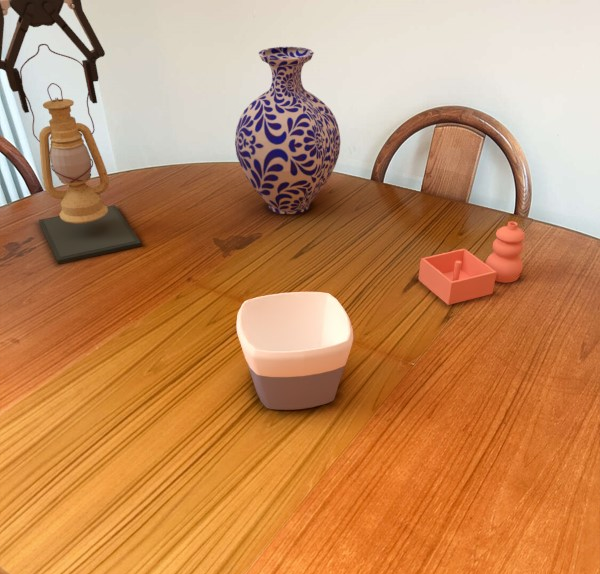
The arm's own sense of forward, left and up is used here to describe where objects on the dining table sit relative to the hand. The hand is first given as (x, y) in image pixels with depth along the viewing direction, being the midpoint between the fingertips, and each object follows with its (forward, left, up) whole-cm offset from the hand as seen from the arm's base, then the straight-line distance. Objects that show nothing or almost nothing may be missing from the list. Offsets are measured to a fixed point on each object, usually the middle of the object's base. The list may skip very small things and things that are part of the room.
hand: (60, 105), depth 117 cm
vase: (+42, -6, -25) cm, 49 cm away
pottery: (+57, -51, -25) cm, 80 cm away
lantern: (0, 0, -20) cm, 20 cm away
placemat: (0, 0, -25) cm, 25 cm away
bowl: (+15, -63, -25) cm, 69 cm away
